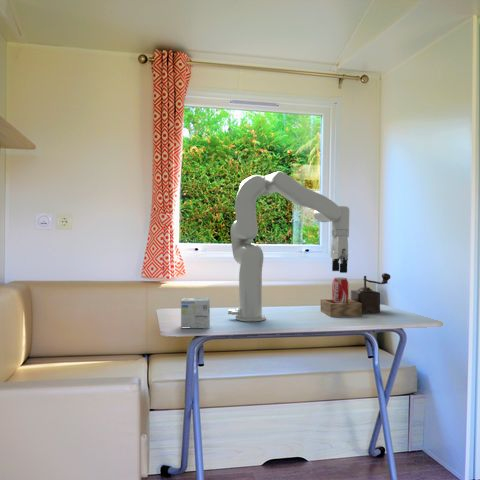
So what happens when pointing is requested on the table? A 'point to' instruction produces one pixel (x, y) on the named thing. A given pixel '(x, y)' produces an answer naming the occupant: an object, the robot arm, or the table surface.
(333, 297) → the soda can
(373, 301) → the manual coffee grinder
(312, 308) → the table surface
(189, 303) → the light bulb box
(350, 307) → the open wooden box
